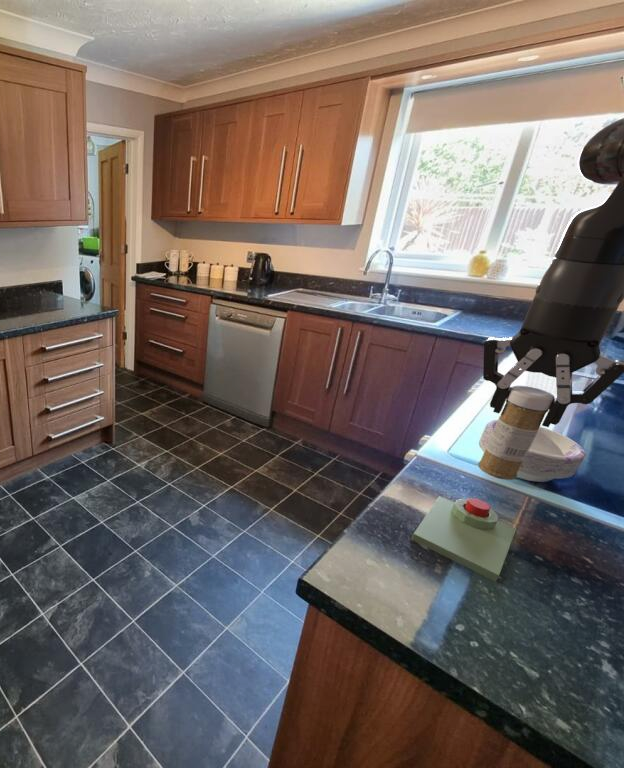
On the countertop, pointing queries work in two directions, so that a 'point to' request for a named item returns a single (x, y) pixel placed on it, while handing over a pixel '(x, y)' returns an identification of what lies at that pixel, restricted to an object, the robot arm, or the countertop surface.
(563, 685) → the countertop surface
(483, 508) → the button
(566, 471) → the paper bowls
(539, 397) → the sprinkles bottle
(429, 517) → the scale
